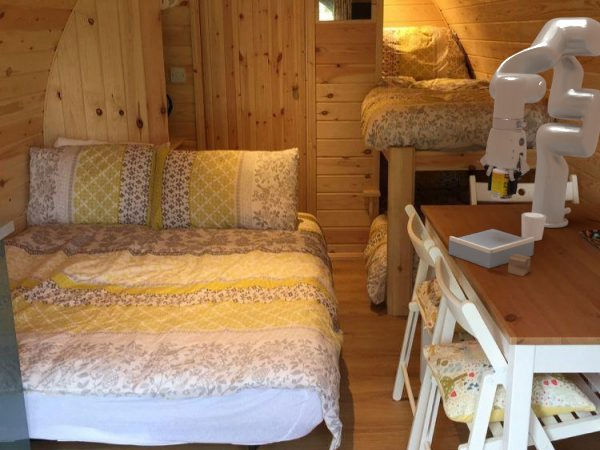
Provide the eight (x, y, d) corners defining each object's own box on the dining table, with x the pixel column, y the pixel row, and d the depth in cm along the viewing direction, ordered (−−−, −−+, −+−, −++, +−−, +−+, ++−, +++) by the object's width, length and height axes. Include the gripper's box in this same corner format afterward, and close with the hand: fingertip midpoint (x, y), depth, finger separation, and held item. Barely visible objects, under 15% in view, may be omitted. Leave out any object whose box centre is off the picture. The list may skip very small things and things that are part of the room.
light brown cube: (513, 268, 166) (515, 254, 165) (529, 272, 163) (530, 257, 162) (507, 272, 163) (509, 258, 162) (523, 276, 160) (524, 261, 159)
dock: (491, 242, 186) (493, 225, 185) (532, 255, 175) (534, 237, 174) (448, 253, 177) (449, 236, 175) (489, 268, 166) (490, 250, 164)
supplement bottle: (502, 202, 169) (505, 164, 166) (485, 198, 173) (488, 161, 170) (516, 199, 172) (519, 162, 169) (499, 195, 176) (502, 158, 173)
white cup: (515, 237, 190) (517, 215, 188) (525, 232, 195) (527, 210, 193) (538, 242, 186) (540, 219, 184) (547, 237, 190) (550, 214, 188)
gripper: (545, 127, 162) (538, 196, 167) (490, 120, 176) (485, 184, 181) (526, 129, 158) (519, 200, 163) (472, 122, 172) (467, 188, 177)
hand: (501, 191), depth 172 cm, fingers closed on supplement bottle, 5 cm apart
